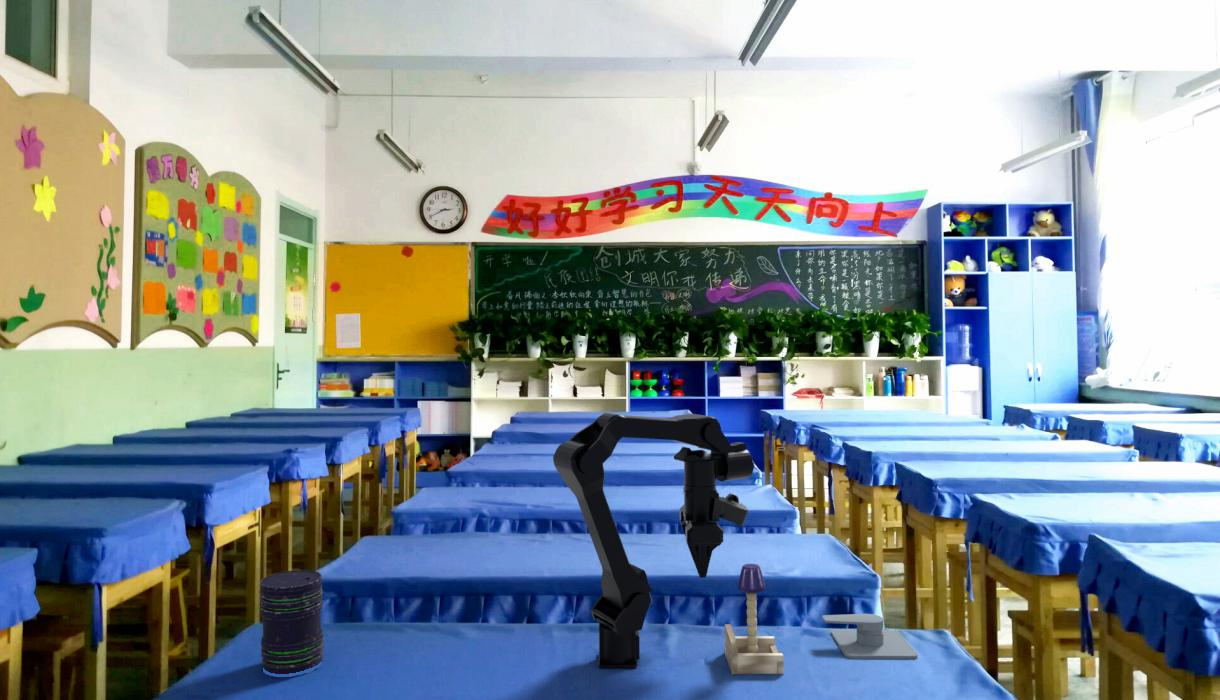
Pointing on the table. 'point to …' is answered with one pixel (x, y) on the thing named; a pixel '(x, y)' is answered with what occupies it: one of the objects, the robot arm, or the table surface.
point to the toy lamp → (751, 599)
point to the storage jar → (291, 621)
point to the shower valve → (869, 638)
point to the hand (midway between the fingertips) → (700, 569)
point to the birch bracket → (752, 655)
